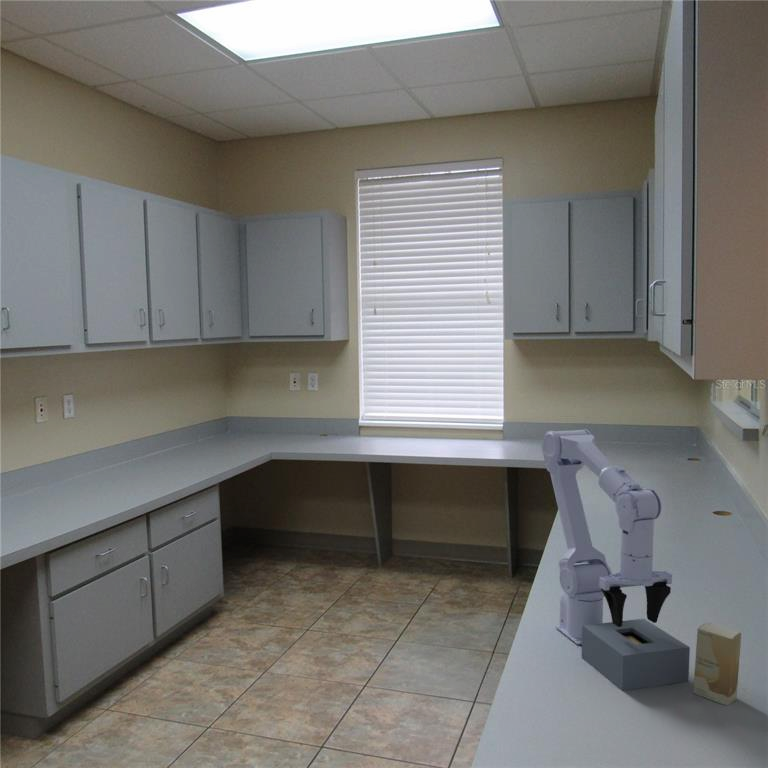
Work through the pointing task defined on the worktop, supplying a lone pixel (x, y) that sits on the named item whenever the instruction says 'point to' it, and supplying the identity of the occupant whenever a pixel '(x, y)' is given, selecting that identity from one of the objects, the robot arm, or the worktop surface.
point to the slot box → (635, 654)
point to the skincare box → (717, 663)
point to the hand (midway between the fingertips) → (634, 622)
